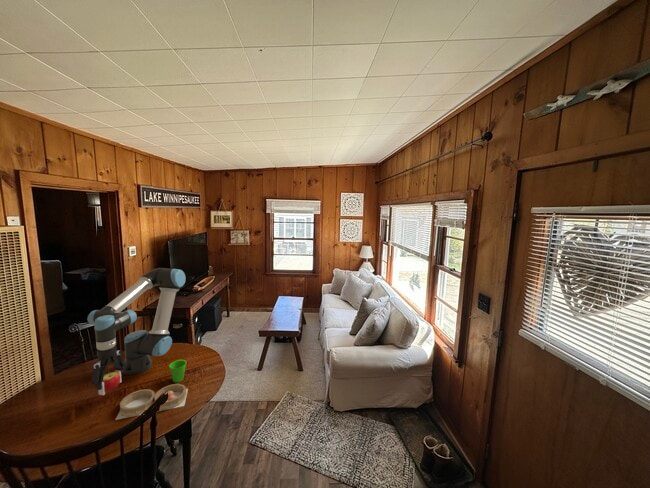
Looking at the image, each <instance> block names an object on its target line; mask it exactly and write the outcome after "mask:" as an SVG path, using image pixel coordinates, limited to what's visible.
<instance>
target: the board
mask: <svg viewBox="0 0 650 488" xmlns="http://www.w3.org/2000/svg"><path fill="white" fill-rule="evenodd" d="M188 391H189V388H186V398H185V400H184V401H183V402H182V403H181V404H180V405H178V406H176V407H174V408H171V409H177V408H182V407H185V405H186V399H187V395H188ZM154 394H155V395H156V393H154ZM181 394H182V393H180V392H173V395H174V396H175V397H176V398H177V397H178V396H180V395H181ZM148 400H150V398H139V399H137V400H134V401H132V402H130V403H129V404H127V405H126V406H125V407H127V408H132V407H137V406H140V405H142V404H144V403H146V402H147V401H148ZM167 401H168V400H167ZM171 409H170V410H171ZM167 410H168V409H166V410H165V411H167ZM161 411H163V410H159V411H158V412H161ZM137 416H141V414H139V415H137ZM137 416H136V417H137ZM132 417H134V416H132ZM132 417H131V418H132ZM127 418H129V417H125V416H122V415H121V412H120V411H119V412H118V414H117V416H116V418H115V419H114V420H115V421H117V420H123V419H127Z"/></svg>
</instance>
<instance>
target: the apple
mask: <svg viewBox="0 0 650 488" xmlns="http://www.w3.org/2000/svg"><path fill="white" fill-rule="evenodd" d="M107 370H108V372H107V373H105V374H104V378H103V381H102V382H104V388H105V392H110V391H113V390H114V389H115V388H117V387H118V386H119V385H120V383H119V382H120V374H119V373H118V372H115V371H111V372H110V369H109V368H107Z"/></svg>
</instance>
